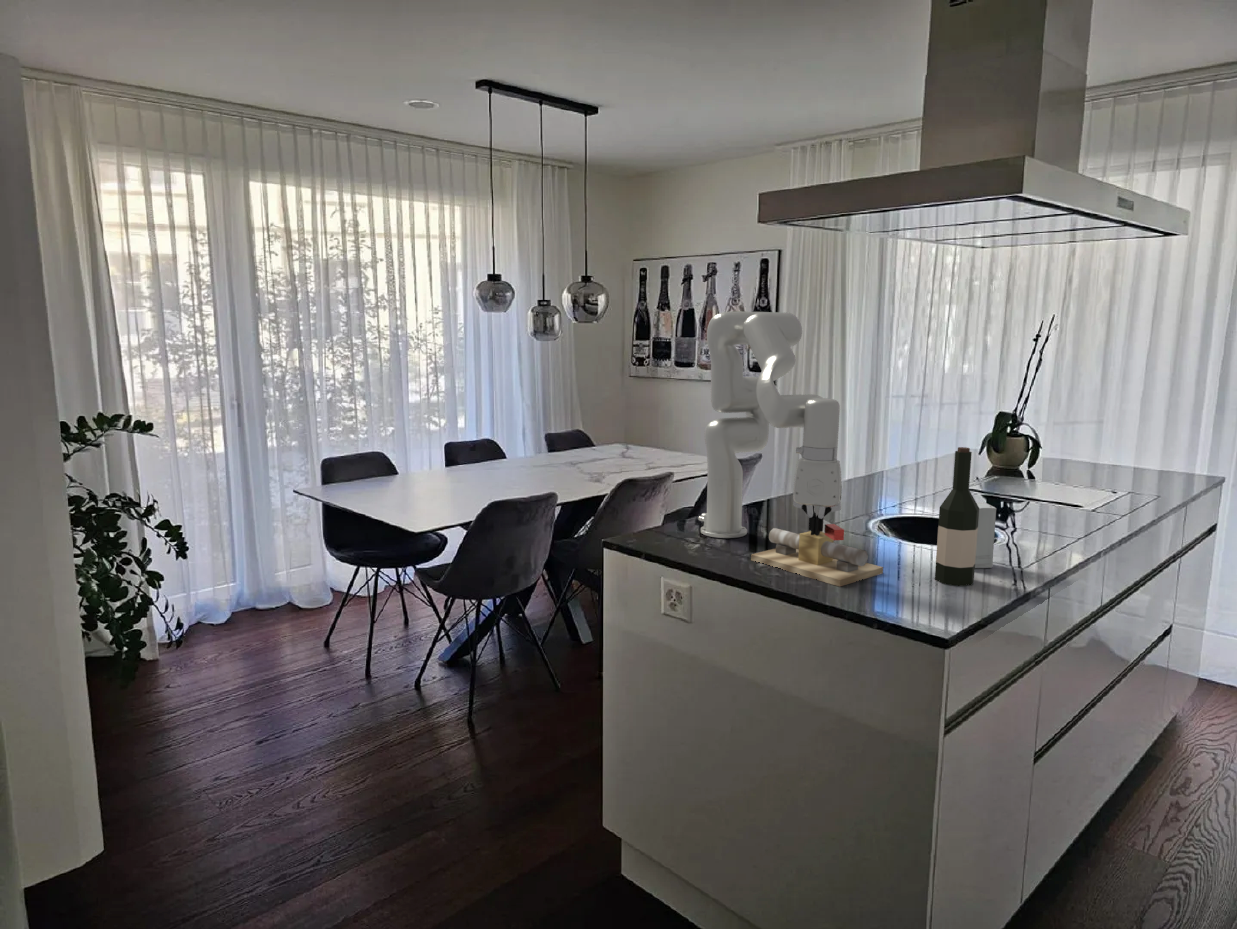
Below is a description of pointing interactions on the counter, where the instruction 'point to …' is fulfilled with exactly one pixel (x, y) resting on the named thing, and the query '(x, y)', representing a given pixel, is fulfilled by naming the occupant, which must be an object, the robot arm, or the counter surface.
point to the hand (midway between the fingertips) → (815, 533)
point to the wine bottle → (958, 528)
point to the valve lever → (833, 531)
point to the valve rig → (817, 558)
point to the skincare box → (985, 536)
